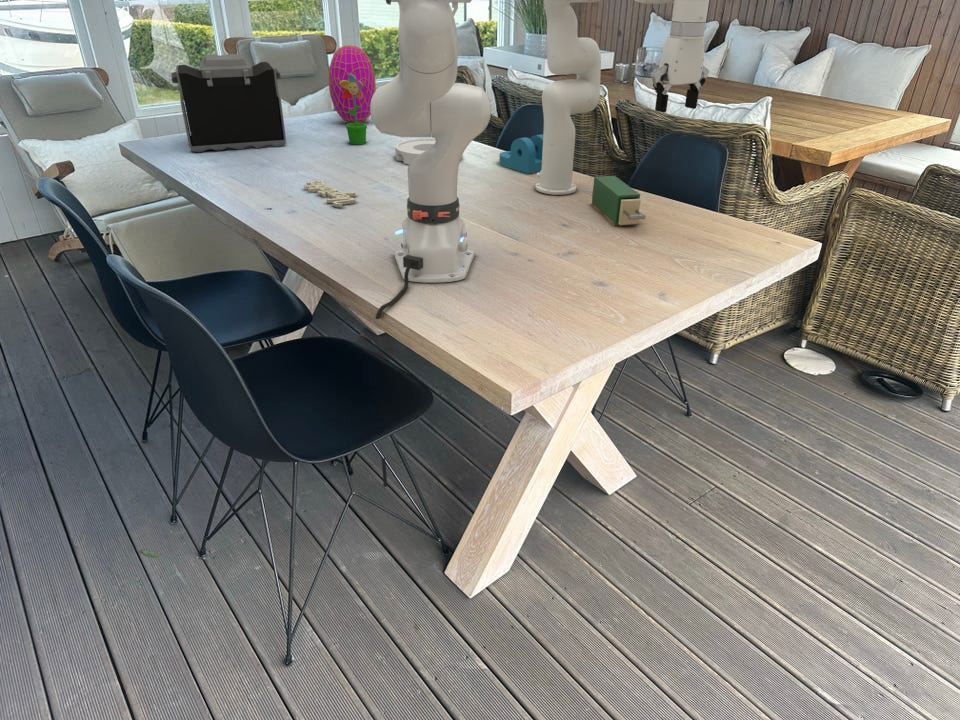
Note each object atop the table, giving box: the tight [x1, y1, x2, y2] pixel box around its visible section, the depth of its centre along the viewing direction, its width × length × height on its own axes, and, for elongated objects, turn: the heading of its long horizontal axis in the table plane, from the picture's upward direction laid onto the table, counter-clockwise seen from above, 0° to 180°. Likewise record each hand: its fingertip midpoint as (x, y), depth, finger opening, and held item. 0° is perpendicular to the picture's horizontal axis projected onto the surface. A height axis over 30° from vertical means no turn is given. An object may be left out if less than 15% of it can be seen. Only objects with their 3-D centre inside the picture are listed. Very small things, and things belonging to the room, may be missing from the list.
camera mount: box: [498, 133, 543, 175], centre depth 233 cm, size 18×10×10 cm, turn 39°
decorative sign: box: [303, 179, 356, 208], centre depth 205 cm, size 26×1×10 cm
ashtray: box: [394, 138, 436, 166], centre depth 243 cm, size 23×23×4 cm
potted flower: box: [339, 73, 368, 145], centre depth 255 cm, size 9×8×25 cm
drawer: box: [618, 198, 647, 226], centre depth 186 cm, size 22×5×7 cm, turn 12°
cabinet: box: [590, 175, 641, 227], centre depth 191 cm, size 18×6×8 cm, turn 12°
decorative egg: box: [328, 44, 377, 124], centre depth 286 cm, size 19×19×30 cm
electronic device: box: [170, 53, 287, 153], centre depth 252 cm, size 37×22×30 cm, turn 111°
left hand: (431, 23), depth 166 cm, fingers open, 8 cm apart
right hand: (675, 109), depth 164 cm, fingers open, 9 cm apart
